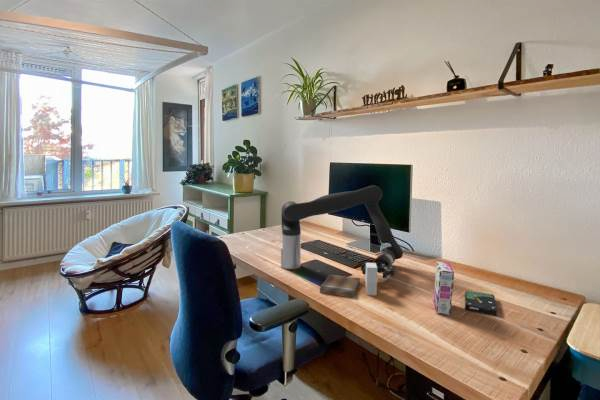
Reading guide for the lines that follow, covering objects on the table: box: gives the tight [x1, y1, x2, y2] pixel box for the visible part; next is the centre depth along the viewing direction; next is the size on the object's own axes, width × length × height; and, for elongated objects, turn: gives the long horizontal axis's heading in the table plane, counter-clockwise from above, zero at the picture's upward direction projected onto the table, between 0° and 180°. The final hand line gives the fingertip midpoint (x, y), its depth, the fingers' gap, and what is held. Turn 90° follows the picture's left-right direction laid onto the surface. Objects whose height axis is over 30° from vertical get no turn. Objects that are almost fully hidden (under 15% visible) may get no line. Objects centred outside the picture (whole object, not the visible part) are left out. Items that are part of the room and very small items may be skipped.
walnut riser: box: [319, 273, 361, 298], centre depth 141 cm, size 14×16×3 cm
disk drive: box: [464, 290, 498, 317], centre depth 125 cm, size 10×3×15 cm
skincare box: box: [364, 262, 378, 296], centre depth 135 cm, size 6×4×12 cm
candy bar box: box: [433, 261, 455, 316], centre depth 121 cm, size 11×5×16 cm, turn 163°
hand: (373, 273), depth 137 cm, fingers open, 8 cm apart
